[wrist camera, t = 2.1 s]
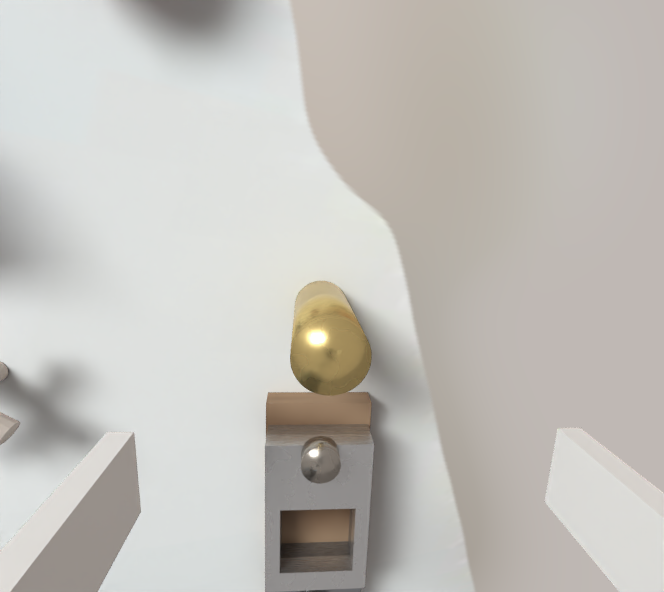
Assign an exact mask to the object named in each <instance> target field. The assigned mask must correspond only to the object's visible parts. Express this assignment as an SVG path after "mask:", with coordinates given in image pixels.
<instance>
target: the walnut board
mask: <svg viewBox="0 0 664 592" xmlns="http://www.w3.org/2000/svg"><path fill="white" fill-rule="evenodd" d="M371 404H372V403H371V400H370V397H369V395H368V392H346V393H343V394H340V395H333V396H327V395H320V394H317V393H268V397H267V402H266V437H267V431H268V425H319V424H368V426H369V429H370V420H371ZM349 516H350V509H321V510H283V511H282V543H310V542H340V541H348V535H349Z"/></svg>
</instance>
